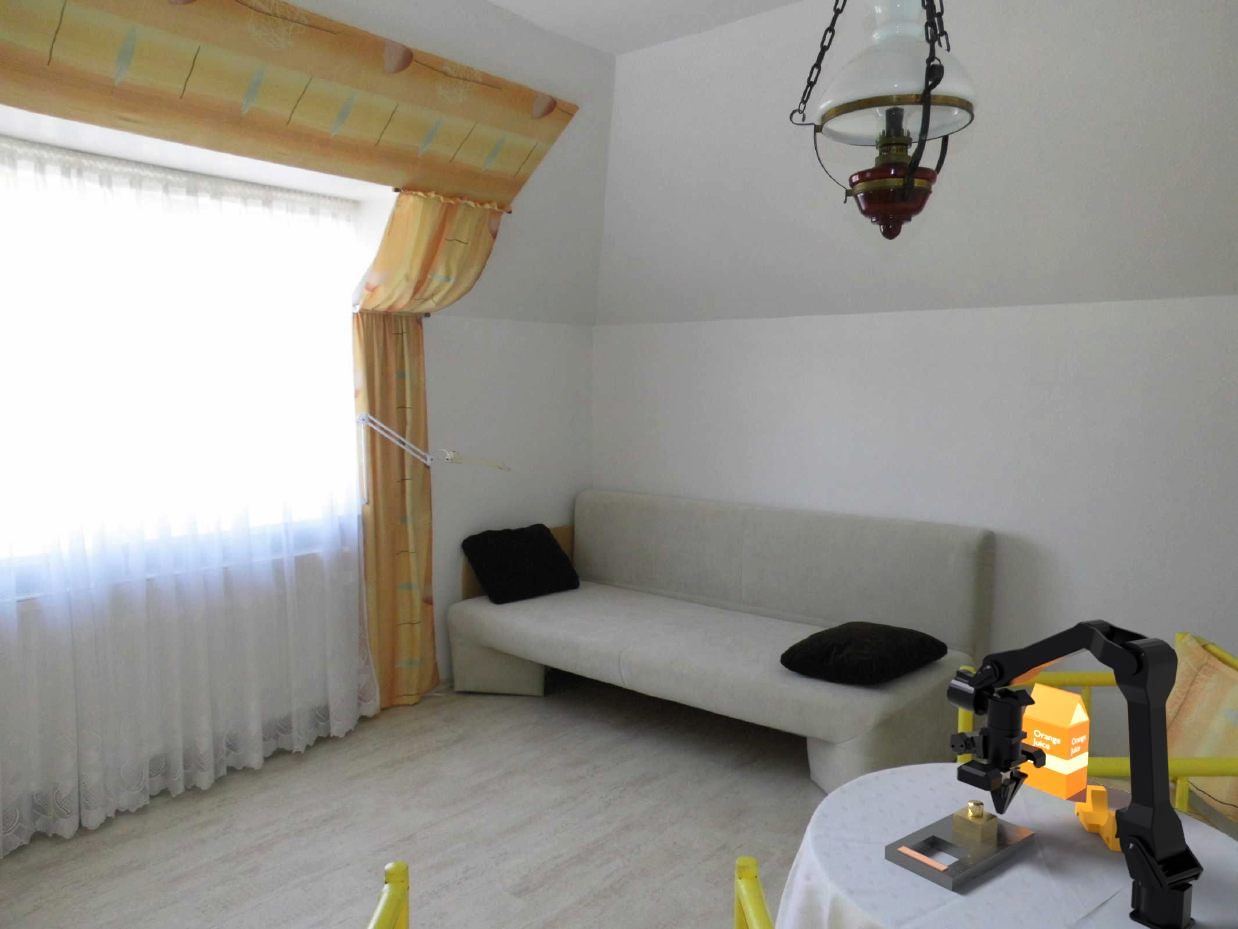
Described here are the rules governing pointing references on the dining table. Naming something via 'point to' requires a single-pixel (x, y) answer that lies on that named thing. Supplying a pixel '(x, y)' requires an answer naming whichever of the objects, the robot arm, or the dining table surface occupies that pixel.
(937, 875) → the dark grey slab
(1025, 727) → the orange juice
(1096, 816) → the pipe clamp
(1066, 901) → the dining table surface
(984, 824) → the gold block with knob
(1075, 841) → the dining table surface
